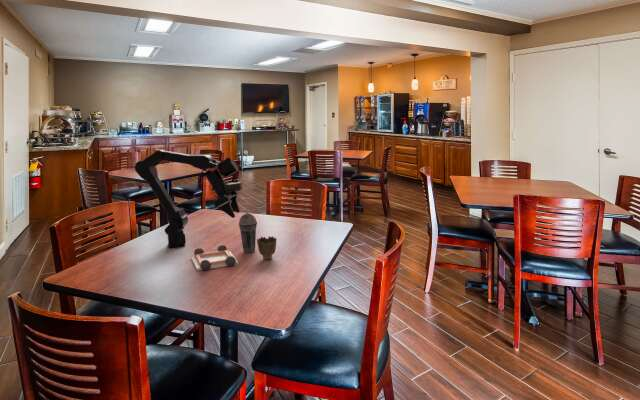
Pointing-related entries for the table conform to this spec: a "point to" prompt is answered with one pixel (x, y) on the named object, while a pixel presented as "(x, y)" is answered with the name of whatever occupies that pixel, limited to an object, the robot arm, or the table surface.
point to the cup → (267, 247)
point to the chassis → (213, 258)
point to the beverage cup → (248, 232)
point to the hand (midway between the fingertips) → (236, 214)
